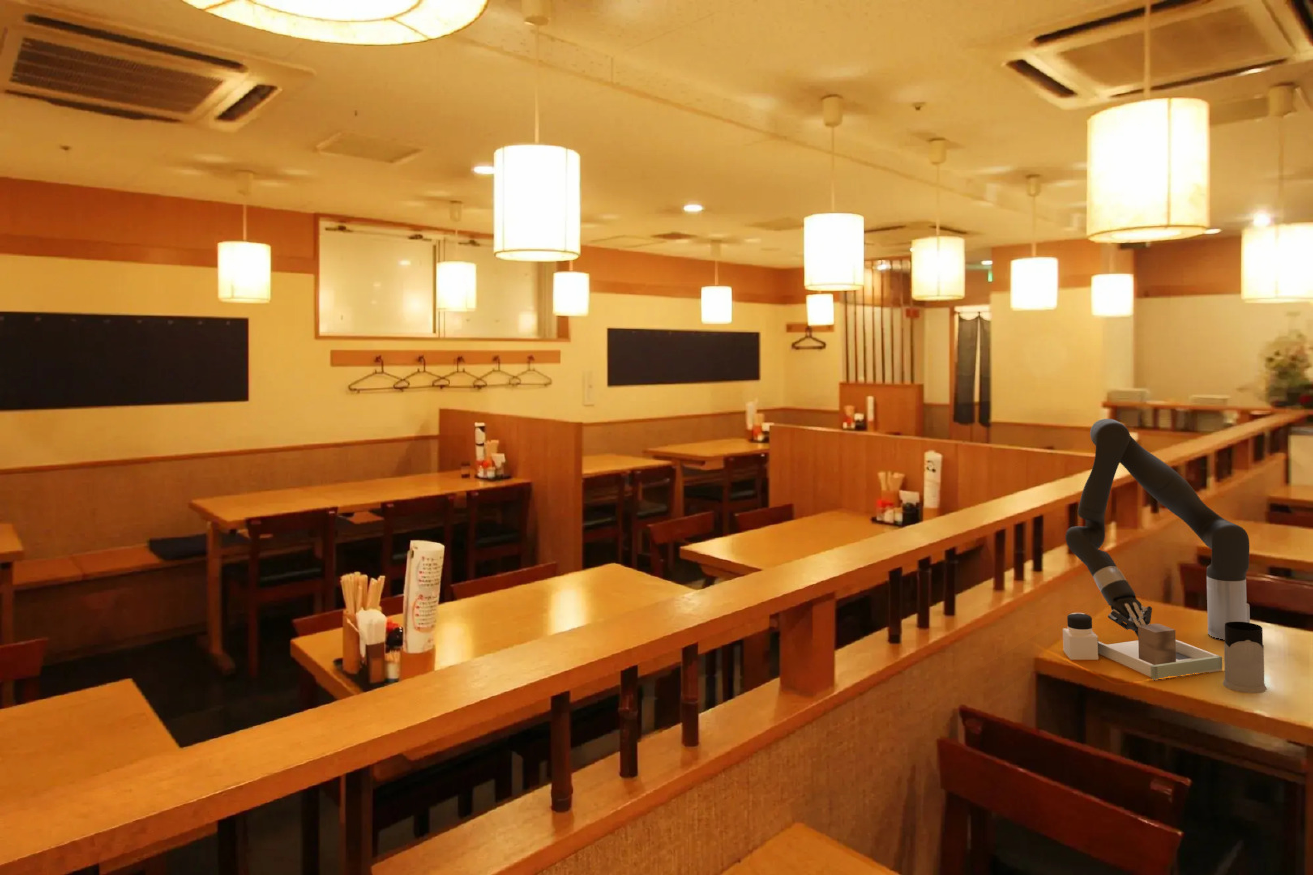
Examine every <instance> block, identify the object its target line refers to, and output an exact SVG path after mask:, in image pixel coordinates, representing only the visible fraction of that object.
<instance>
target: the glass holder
mask: <svg viewBox="0 0 1313 875" xmlns="http://www.w3.org/2000/svg"><path fill="white" fill-rule="evenodd" d="M1263 632H1264V631H1263V626H1261V625H1259V624H1257V623H1252V622H1250V623H1248V622H1235V621H1233V622H1227V623H1225V640H1224V643H1223V648H1224V649H1223V650H1224V660H1223V661H1224V662H1223V663H1224V679H1223V681H1222V685H1223V686H1224V687H1226V688H1227V689H1229V690H1233V691H1236V692H1239V693H1240V692H1241V693H1246V694H1247V693H1249V694H1261V693H1264V692H1266V691H1267V686H1266V683H1265V652H1264V650H1265V647H1264V644H1263V643H1264V640H1263V638H1264V637H1263V635H1264V634H1263Z"/></svg>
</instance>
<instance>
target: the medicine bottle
mask: <svg viewBox="0 0 1313 875" xmlns="http://www.w3.org/2000/svg"><path fill="white" fill-rule="evenodd" d="M1066 619H1067V622H1066V623H1067V628H1065V627H1064V628H1062V642H1063V643H1062V644H1063V645H1062V646H1063V647H1062V648H1063V652H1064V653H1065V655H1066V656H1067V658H1069V660H1070V662H1072V660H1074V661H1075V660H1080V661H1081V660H1082V661H1083V660H1084V661H1085V660H1099V654H1098V641H1099V636H1098V635H1097V634H1096V633H1095V632H1094V630H1093V618H1092V616H1091V615H1090V614H1087V613H1085V612H1084V613H1083V612H1073V613H1069V614H1068V615H1067V617H1066Z"/></svg>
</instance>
